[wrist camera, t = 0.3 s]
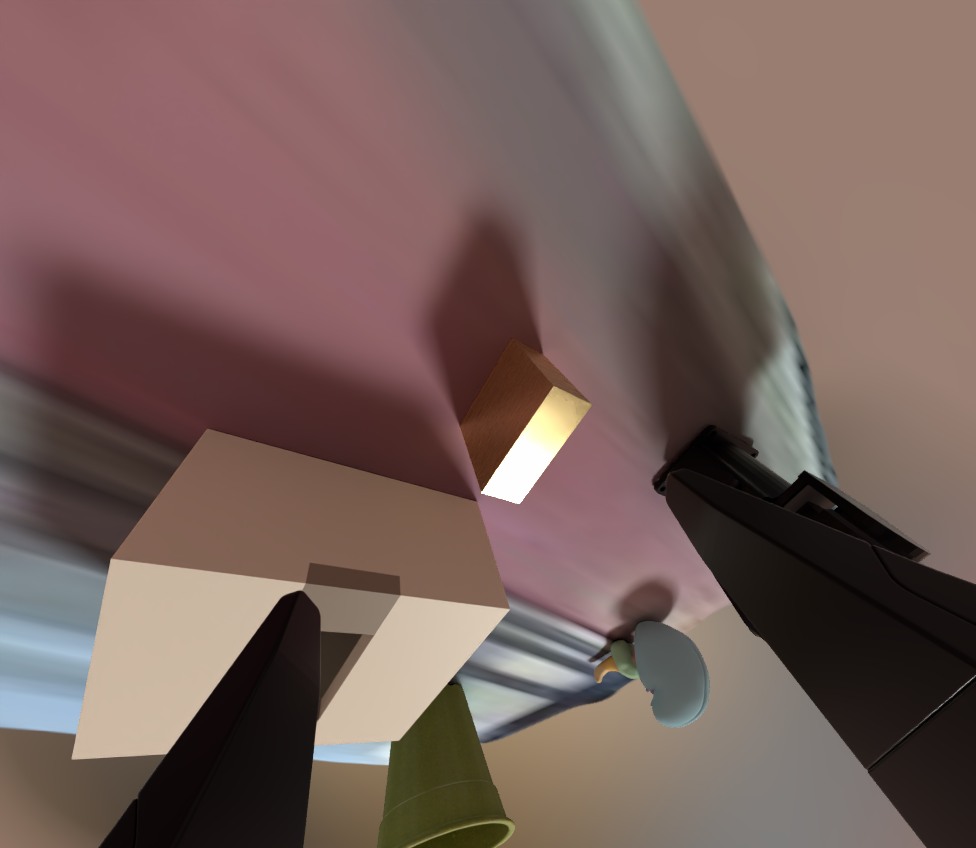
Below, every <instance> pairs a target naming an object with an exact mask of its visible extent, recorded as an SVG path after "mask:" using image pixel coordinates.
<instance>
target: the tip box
mask: <svg viewBox="0 0 976 848" xmlns="http://www.w3.org/2000/svg"><path fill="white" fill-rule="evenodd" d="M298 590H301V591H304V592H305V593H306V594H307V596H308V597H309V598H310V599H311V600H312V602H313V603H314V604H315V605H316V606H317V607H318V609H319V611H320V615H321V679H320V696H319V706H318V716H317V725H316V734H315V743H314V746H315V745H332V744H349V743H367V742H384V741H399V740H400V739H401V738H402V737H403V735H404V734H405V733H406V732H407V731H408V729H409V728H410V727H411V726H412V725H413V724H414V722H415V721H416V720H417V719H418V718H419V716H420V715H421V714H422V713H423V712H424V711H425V709H426V708H427V707H428V706H429V705H430V703H431V702H432V701H433V700H434V699H435V698H436V696H437V695H438V694H439V693H440V692H441V690H442V689H443V688H444V687H445V686H446V685H447V683H448V682H449V681H450V680H451V679H452V677H453V676H454V675H455V674H456V673H457V671H458V670H459V669H460V668H461V667H462V666H463V664H464V663H465V662H466V661H467V660H468V658H469V657H470V656H471V655H472V654H473V653H474V651H475V650H476V649H477V648H478V647H479V645H480V644H481V643H482V642H483V641H484V640H485V638H486V637H487V636H488V635H489V634H490V632H491V631H492V630H493V629H494V628H495V627H496V625H497V624H498V623H499V622H500V621H501V619H502V618H503V617H504V616H505V615H506V613H507V612H508V611H509V610H510V608H509V604H508V601H507V598H506V594H505V591H504V588H503V584H502V581H501V578H500V574H499V571H498V568H497V565H496V561H495V558H494V555H493V551H492V548H491V545H490V541H489V538H488V535H487V532H486V528H485V525H484V522H483V518H482V515H481V512H480V508H479V505H478V502H476V501H472V500H469V499H465V498H461V497H457V496H454V495H450V494H446V493H443V492H439V491H435V490H432V489H428V488H424V487H421V486H417V485H413V484H410V483H406V482H402V481H399V480H395V479H391V478H387V477H384V476H380V475H376V474H373V473H369V472H365V471H362V470H358V469H354V468H351V467H347V466H343V465H340V464H336V463H332V462H329V461H325V460H321V459H317V458H314V457H310V456H306V455H303V454H299V453H295V452H292V451H288V450H284V449H281V448H277V447H273V446H270V445H266V444H262V443H259V442H255V441H251V440H248V439H244V438H240V437H236V436H233V435H229V434H225V433H222V432H218V431H214V430H211V429H207V430H206V431H205V432H204V434H203V435H202V436H201V438H200V439H199V440H198V442H197V443H196V444H195V446H194V447H193V448H192V450H191V451H190V453H189V454H188V455H187V457H186V458H185V459H184V461H183V462H182V463H181V465H180V466H179V467H178V469H177V470H176V471H175V473H174V474H173V476H172V477H171V478H170V480H169V481H168V482H167V484H166V485H165V486H164V488H163V489H162V490H161V492H160V493H159V494H158V496H157V497H156V499H155V500H154V501H153V503H152V504H151V505H150V507H149V508H148V509H147V511H146V512H145V513H144V515H143V516H142V517H141V519H140V520H139V522H138V523H137V524H136V526H135V527H134V528H133V530H132V531H131V532H130V534H129V535H128V536H127V538H126V539H125V540H124V542H123V543H122V544H121V546H120V547H119V549H118V550H117V551H116V553H115V554H114V555H113V557H112V558H111V561H110V566H109V571H108V576H107V581H106V587H105V592H104V597H103V602H102V607H101V612H100V617H99V622H98V627H97V632H96V638H95V643H94V648H93V653H92V658H91V663H90V668H89V673H88V678H87V684H86V689H85V694H84V699H83V704H82V709H81V714H80V719H79V724H78V730H77V735H76V740H75V745H74V750H73V755H72V759H86V758H105V757H121V756H139V755H158V754H167V753H168V752H169V750H170V749H171V748H172V746H173V745H174V743H175V742H176V741H177V739H178V738H179V737H180V735H181V734H182V732H183V731H184V730H185V728H186V727H187V726H188V724H189V723H190V721H191V720H192V719H193V717H194V716H195V715H196V713H197V712H198V710H199V709H200V708H201V706H202V705H203V704H204V702H205V701H206V700H207V698H208V697H209V695H210V694H211V693H212V691H213V690H214V689H215V687H216V686H217V684H218V683H219V682H220V680H221V679H222V678H223V676H224V675H225V673H226V672H227V671H228V669H229V668H230V667H231V665H232V664H233V662H234V661H235V660H236V658H237V657H238V656H239V654H240V653H241V651H242V650H243V649H244V647H245V646H246V645H247V643H248V642H249V640H250V639H251V638H252V636H253V635H254V634H255V632H256V631H257V629H258V628H259V627H260V625H261V624H262V623H263V621H264V620H265V618H266V617H267V616H268V614H269V613H270V612H271V610H272V609H273V607H274V606H275V605H276V603H277V602H278V601H279V599H280V598H281V597H282V596H284V595H286V594H289V593H292V592H295V591H298Z"/></svg>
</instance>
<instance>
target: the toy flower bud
mask: <svg viewBox="0 0 976 848" xmlns="http://www.w3.org/2000/svg"><path fill="white" fill-rule="evenodd" d="M610 650H611V655H612V656H610V657H608V658H607V659H605V660H604V661H603V662H601V663H600V664H599V665H598V666H597V667H596V669H595V671H594V677H595V680H596V682H597V683H600V682H601V681H602V678H603V676H604V675H605V674H606V673H607V672H609V671H618V672H620V673H621V674H623V675H624V676H626V677H628V678H632V679H638V678H640V680H641V682H642V683H643V685H644V686H645V688H646V691H647V692H648V691H649V690H650V692H651V693H652V694H654V696H653V700H652V702H651V706H652V709H653V713H654V716H655V717H656V719H657V720H658V721H659V722H660V723H661V724H662V725H664V726H667V727H674V728H676V727H683V726H686V725H688V724H690V723H692V722H694V721H695V720H696V719H698V718H699V717H700V716H701V715H702V713H703V712H704V710H705V709H706V707H707V704H708V701H709V692H710V680H709V674H708V670H707V667H706V664H705V662H704V660H703V657H702V655H701V653H700V651H699V649H698V648H697V646H696V645H695V644H694V642H693V641H692V640H691V639H690V638H689V637H687V636H686V635H685V634H683V633H682V632H680V631H678V630H676V629H674V628H672V627H670V626H668V625H665V624H663V623H659V622H655V621H643V622H640V623H639V624H638V625H637V626H636V629H635V636H634V644H632V643H626V642H625V641H624V640H617V641H615V642H613V643H612V645H611V648H610Z"/></svg>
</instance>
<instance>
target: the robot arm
mask: <svg viewBox="0 0 976 848" xmlns="http://www.w3.org/2000/svg"><path fill="white" fill-rule="evenodd" d="M758 453H759V452H758V451H757V450H756V449H755V448H753V447H751V446H749V445H748V444H746V443H744V442H742V441H741V440H739V439H737V438H735V437H734V436H732V435H730V434H728V433H727V432H725V431H723V430H721V429H720V428H718V427H716V426H714V425H710V426H708V427H707V428H706V429H705V430H704V431H703V432H702V433H701V434H700V435H699V436H698V437H697V439H696V440H695V441H694V442H693V443H692V444H691V445H690V446H689V447H688V449H687V450H686V451H685V452H684V453H683V454H682V455H681V456H680V457H679V459H678V460H677V461H676V462H675V463H674V464H673V465H672V466H671V468H670V469H669V470H668V471H667V472H666V473H665V474H664V475H663V476H662V478H661V479H660V480H659V481H658V482H657V483H656V484H655V486H654V490H655V491H656V492H657V493H658V494H661V495H663V496H666V501H667V504H668V506H669V508H670V509H671V511H672V512H673V514H674V516H675V517H676V519H677V520H678V522H679V524H680V525H681V527H682V528H683V530H684V532H685V533H686V535H687V536H688V538H689V539H690V541H691V543H692V544H693V546H694V547H695V549H696V551H697V552H698V554H699V555H700V557H701V558H702V560H703V561H704V562H705V564H706V565H707V566H708V568H709V569H710V570H711V572H712V573H713V575H714V577H715V578H716V580H717V581H718V583H719V584H720V586H721V588H722V589H723V591H724V592H725V594H726V595H727V597H728V598H729V600H730V601H731V603H732V605H733V606H734V608H735V609H736V611H737V612H738V614H739V615H740V617H741V618H742V620H743V621H744V623H745V624H746V625H747V626H748V628H749V630H750V631H751V632H752V633H753V634H754V635H755V636H758V637H761V638H762V639H763V640H765V641H766V642H767V643H768V645H769V646H770V647H771V649H772V650H773V651H774V652H775V654H776V655H777V656H778V658H779V659H780V660H781V661H782V663H783V664H784V665H785V667H786V668H787V669H788V670H789V672H790V673H791V674H792V675H793V677H794V678H795V679H796V681H797V682H798V683H799V684H800V686H801V687H802V688H803V689H804V691H805V692H806V693H807V695H808V696H809V697H810V699H811V700H812V701H813V702H814V704H815V705H816V706H817V708H818V709H819V710H820V711H821V713H822V714H823V715H824V716H825V718H826V719H827V720H828V722H829V723H830V724H831V725H832V727H833V728H834V729H835V730H836V732H837V733H838V734H839V736H840V737H841V738H842V739H843V741H844V742H845V743H846V745H847V746H848V747H849V748H850V750H851V751H852V752H853V754H854V755H855V756H856V758H857V759H858V760H859V761H860V762H861V764H862V765H863V766H864V768H865V769H867V770H868V773H869V774H870V776H871V777H872V778H873V780H874V781H875V782H876V784H877V785H878V786H879V787H880V788H881V790H882V791H883V793H884V794H885V795H886V796H887V798H888V799H889V800H890V801H891V803H892V804H893V805H894V807H895V808H896V809H897V810H898V812H899V813H900V814H901V816H902V817H903V818H904V819H905V821H906V822H907V823H908V825H909V826H910V827H911V828H912V830H913V831H914V832H915V833H916V835H917V836H918V837H919V839H920V840H921V841H922V842H923V844H924V845H925V846H926V847H927V848H976V584H973V583H971V582H968V581H966V580H963V579H960V578H957V577H954V576H952V575H949V574H946V573H943V572H941V571H938V570H935V569H933V568H930V567H928V566H926V565H924V564H923V563H921V562H920V561H922V560H923V559H925V558H926V557H927V556H929V555H930V554H931V553H930V552H929V551H927V550H926V549H925V548H923V547H922V546H921V545H919V544H918V543H916V542H915V541H913V540H912V539H911V538H910V537H908V536H907V535H906V534H904V533H903V532H901V531H900V530H899V529H897V528H896V527H894V526H893V525H892V524H890V523H889V522H888V521H886V520H885V519H884V518H882V517H881V516H879V515H878V514H877V513H875V512H874V511H872V510H871V509H869V508H868V507H866V506H865V505H863V504H861V503H860V502H858V501H857V500H855V499H854V498H852V497H851V496H849V495H847V494H846V493H844V492H843V491H841V490H840V489H838V488H836V487H835V486H833V485H831V484H829V483H827V482H825V481H823V480H822V479H820V478H818V477H816V476H814V475H812V474H810V473H808V472H807V471H805V470H804V471H803V472H802V473H801V474H800V475H799V476H798V477H799V478H798V479H797V480H796V481H795V482H794V483H793V484H792V485H791V484H790V483H788V482H787V481H785V480H784V479H783V478H781V477H780V476H778V475H777V474H776V473H774V472H773V471H772V470H770V469H769V468H767V467H766V466H765V465H763V464H762V463H760V462H759V461H758V460H756V459H755V458H756V457H757V456H758ZM835 505H837V506H838V507H837V508H836V509H835V510H833V509H831V508H832V507H833V506H835ZM320 679H321V615H320V611H319V609H318V607H317V606H316V605H315V604H314V603H313V602H312V600H311V599H310V598H309V597H308V596H307V594H306V593H305V592H304V591H301V590H298V591H295V592H292V593H289V594H286V595H284V596H282V597H281V598H280V599H279V601H278V602H277V603H276V605H275V606H274V607H273V609H272V610H271V612H270V613H269V614H268V616H267V617H266V618H265V620H264V621H263V623H262V624H261V625H260V627H259V628H258V629H257V631H256V632H255V634H254V635H253V636H252V638H251V639H250V640H249V642H248V643H247V645H246V646H245V647H244V649H243V650H242V651H241V653H240V654H239V656H238V657H237V658H236V660H235V661H234V662H233V664H232V665H231V667H230V668H229V669H228V671H227V672H226V673H225V675H224V676H223V678H222V679H221V680H220V682H219V683H218V684H217V686H216V687H215V689H214V690H213V691H212V693H211V694H210V695H209V697H208V698H207V700H206V701H205V702H204V704H203V705H202V706H201V708H200V709H199V710H198V712H197V713H196V715H195V716H194V717H193V719H192V720H191V721H190V723H189V724H188V726H187V727H186V728H185V730H184V731H183V732H182V734H181V735H180V737H179V738H178V739H177V741H176V742H175V743H174V745H173V746H172V748H171V749H170V750H169V752H168V753H167V754H166V756H165V757H164V759H163V760H162V762H161V763H160V764H159V765H158V767H157V768H156V770H155V771H154V772H153V774H152V775H151V776H150V778H149V779H148V781H147V782H146V783H145V785H144V786H143V788H142V789H141V790H140V792H139V793H138V798H135V799H134V800H133V801H132V802H131V804H130V805H129V806H128V808H127V809H126V811H125V812H124V813H123V815H122V816H121V818H120V819H119V820H118V822H117V823H116V824H115V826H114V827H113V829H112V830H111V831H110V832H109V834H108V835H107V836H106V838H105V839H104V841H103V842H102V843H101V845H100V846H99V847H98V848H303V845H304V836H305V827H306V817H307V808H308V799H309V789H310V780H311V771H312V762H313V753H314V743H315V734H316V725H317V716H318V706H319V696H320Z"/></svg>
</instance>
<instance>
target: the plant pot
mask: <svg viewBox="0 0 976 848" xmlns="http://www.w3.org/2000/svg"><path fill="white" fill-rule="evenodd" d="M514 830H515V825H514V822H513V821H512V820H511V819H509V818H507V817H506V814H505V811H504V809H503V805H502V803H501V800H500V797H499V794H498V791H497V788H496V787H495V785H493V782H492V779H491V776H490V773H489V770H488V766H487V763H486V760H485V757H484V754H483V751H482V748H481V744H480V741H479V738H478V735H477V732H476V729H475V725H474V722H473V719H472V716H471V713H470V710H469V707H468V703H467V700H466V697H465V694H464V691H463V689H462V688H461V687H460V686H459V685H457V684H454V685H452V686H451V685H448V684H447V685H446V686H445V687H444V688H443V689H442V690H441V692H440V693H439V694H438V695H437V696H436V698H435V699H434V700H433V701H432V702H431V703H430V705H429V706H428V707H427V708H426V709H425V711H424V712H423V713H422V714H421V715H420V716H419V718H418V719H417V720H416V721H415V722H414V724H413V725H412V726H411V727H410V728H409V729H408V731H407V732H406V733H405V734H404V735H403V737H402V738H401V739H400V740H399V741H391V749H390V759H389V768H388V777H387V786H386V796H385V804H384V812H383V820H382V822H381V824H380V828H379V836H378V844H377V848H496V847H498V846H499V845H501V844H502V843H504V842H505V841H506V840H507V839H508V838H509V837H510V836H511V835H512V834H513V831H514Z"/></svg>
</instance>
